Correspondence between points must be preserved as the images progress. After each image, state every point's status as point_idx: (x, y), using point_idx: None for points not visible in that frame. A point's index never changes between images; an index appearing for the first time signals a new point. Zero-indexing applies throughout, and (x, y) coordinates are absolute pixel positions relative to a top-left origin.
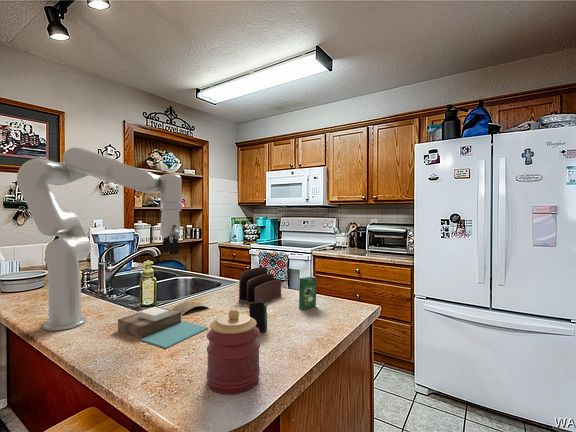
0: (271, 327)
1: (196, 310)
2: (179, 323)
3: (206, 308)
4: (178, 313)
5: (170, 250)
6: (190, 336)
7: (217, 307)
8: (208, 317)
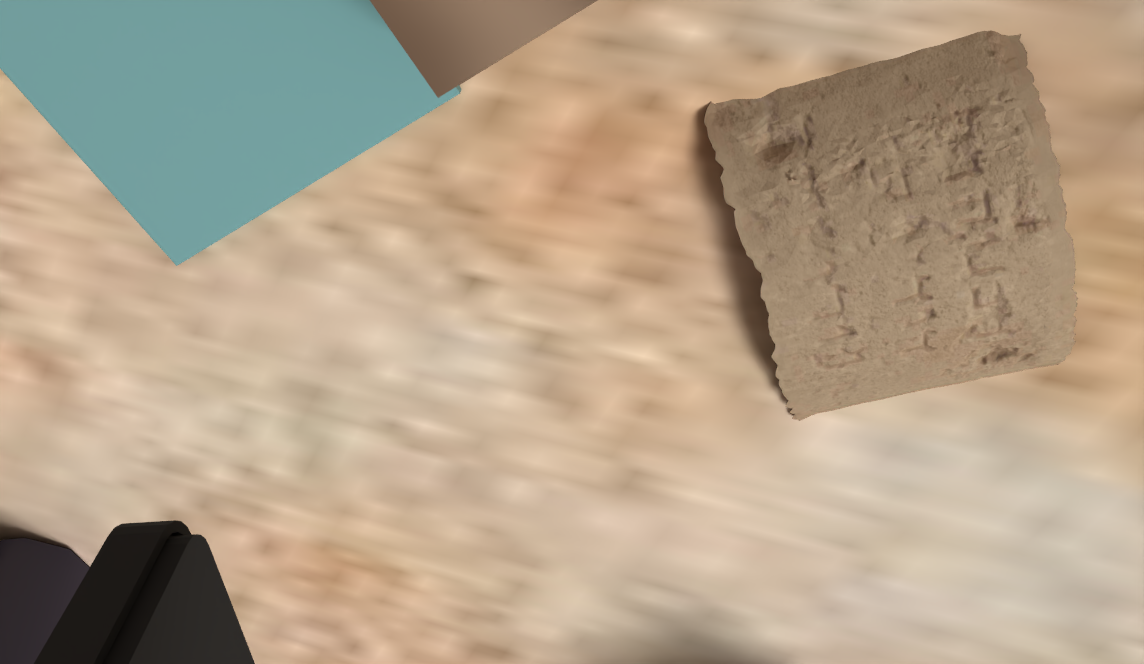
0: None
1: None
2: None
3: None
4: (412, 60)
5: (78, 630)
6: (2, 64)
7: (769, 488)
8: (500, 339)
